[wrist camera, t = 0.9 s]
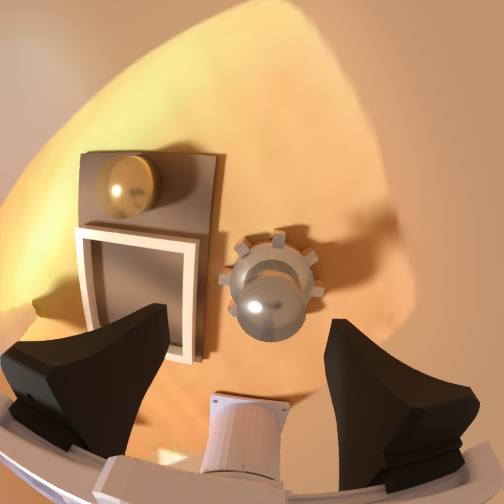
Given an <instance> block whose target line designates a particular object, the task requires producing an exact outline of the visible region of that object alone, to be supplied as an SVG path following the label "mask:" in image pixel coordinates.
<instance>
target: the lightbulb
mask: <svg viewBox="0 0 504 504" xmlns="http://www.w3.org/2000/svg"><path fill="white" fill-rule="evenodd" d="M36 319H37V314H36V309H35V308H34V306H32V305H31V304H30V303H28V302H26V303H24V304H22V305H20V306H19V307H13V308H12V309H10V310H7V311H4V312H0V356H1V355H2V354H3V353H4V352H5V351H6V350H7V349H9V348H10V347H11V346H12V345H13V344H14V343H16V342H17V341H19V340H20V338H21V337H22V335H23V334H24V333H25V332H26V331H27V330H28V327H29V326H30V325H31V324H32V323H34V322H35V321H36ZM0 368H1V365H0Z"/></svg>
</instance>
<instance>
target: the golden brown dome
mask: <svg viewBox="0 0 504 504" xmlns="http://www.w3.org/2000/svg"><path fill="white" fill-rule="evenodd" d="M95 190H96V197H97V200H98V203H99V205H100V207H101V208H102V209H103V211H104V212H105V213H106V214H108V215H109V216H111V217H113V218H115V219H127V218H130V217H133V216H136V215H138V214H141V213H144V212H146V211H148V210H150V209H151V208H152V207H154V205H155V204H156V203H157V202H158V200H159V198H160V195H161V192H162V176H161V173H160V171H159V169H158V167H157V166H156V164H155V163H154V162H152V161H151V160H150V159H148V158H146V157H141V156H126V155H120V156H115V157H113V158H111V159H109V160H108V161H107V162H106V163H105V164H104V165H103V166H102V167H101V169H100V171H99V173H98V176H97V179H96V186H95Z"/></svg>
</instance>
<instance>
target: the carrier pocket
mask: <svg viewBox="0 0 504 504" xmlns="http://www.w3.org/2000/svg"><path fill="white" fill-rule="evenodd" d="M75 233H76V250H77V262H78V272H79V281H80V289H81V296H82V303H83V309H84V314H85V320H86V325H87V330H88V332H89V331H92V330H95V329H98V328H100V327H101V326H100V324H99V318H98V311H97V305H96V297H95V289H94V280H93V269H92V256H91V239H93V240H99V241H106V242H112V243H118V244H125V245H132V246H138V247H145V248H151V249H158V250H165V251H172V252H178V253H184V266H183V308H182V336H183V347H178V346H174V345H169V348H168V351H167V353H166V356H165V359H167V360H172V361H176V362H181V363H185V364H190V365H192V363H193V361H194V358H195V335H196V302H197V279H198V261H199V246H200V240H199V239H191V238H184V237H176V236H169V235H161V234H153V233H146V232H138V231H130V230H123V229H115V228H107V227H99V226H91V225H81V226H78V227H75Z"/></svg>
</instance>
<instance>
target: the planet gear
mask: <svg viewBox="0 0 504 504" xmlns="http://www.w3.org/2000/svg"><path fill="white" fill-rule="evenodd" d="M285 237H286V233H285V230H279V229H274V231H273V238H272V240H265V241H261V242H257V243H255V244H253V245H252V244H251V243H250V242H249V241H248V239H247V238H246V237H245V236H244V237H243V238H242V239H241V240H239V241H238V242H237V243H236V244H235V246H234V249H235V251H236V252H237V253H238V254H239V255H240V256H239V257H238V259H237V261H236V263H235V265H234V267H233V268H229V267H222V269H221V271H220V273H219V282H218V284H222V285H229V286H230V291H231V295H232V298H233V299H232V300H231V301H230V303H229V306H228V311H229V312H230V313H231V314H232V316H233V317H236V316H237V318H238V322H239V324H240V326H241V327H242V329H243V330H244V331H245V332H246V333H247V334H248V335H250V336H251V337H253V338H255V339H257V340H260V341H265V342H278V341H282V340H285V339H288V338H290V337H291V336H293V335H294V334H295V333H297V332H298V331H299V329H300V328H301V327H302V325H303V323H304V321H305V320H306V306H307V304H308V303H309V301H310V299H311V297H320V298H323V294H324V290H325V287H324V284H323V282H322V280H318V279H313V274H312V271H311V268H310V266H311V265H313V264H314V263H316V262H317V261H319V258H318V256H317V254H316V253H315V251H314V250H313V249H312V247H311V246H308V247H307V248H306V249H304V250H303V251H300V250H298V249H297V248H296V247H294V246H293V245H291V244H289V243H286V242H285Z"/></svg>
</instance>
